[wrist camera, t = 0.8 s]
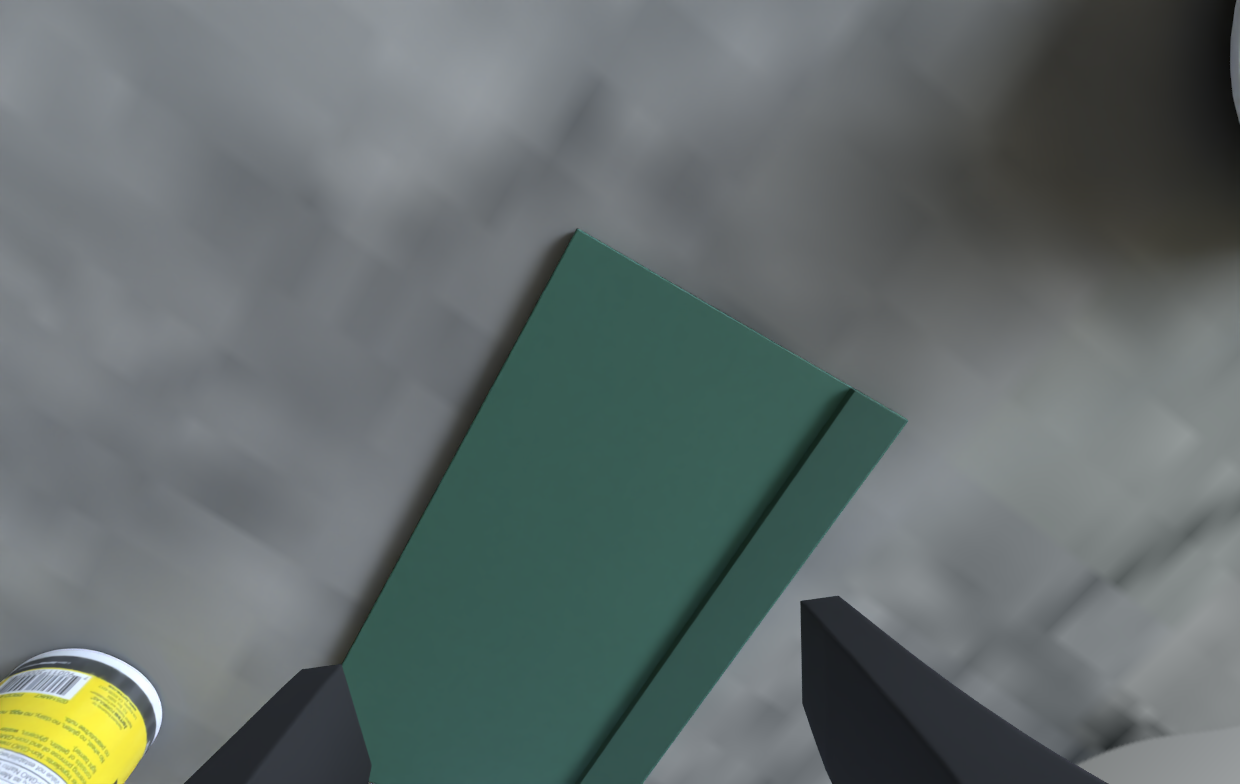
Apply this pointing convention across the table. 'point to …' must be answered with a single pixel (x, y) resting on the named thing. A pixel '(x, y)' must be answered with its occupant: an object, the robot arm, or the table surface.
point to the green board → (604, 536)
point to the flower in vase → (1236, 58)
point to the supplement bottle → (75, 719)
